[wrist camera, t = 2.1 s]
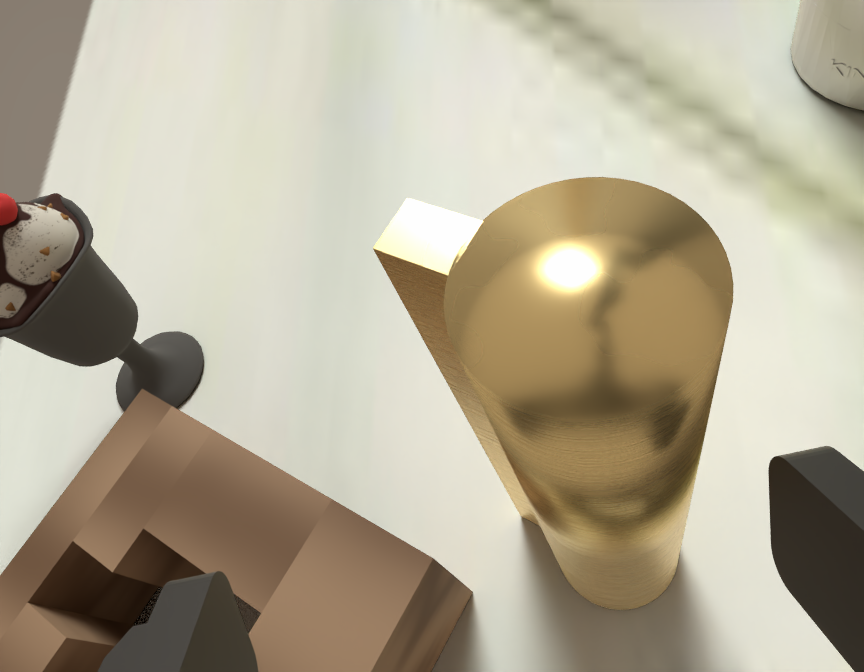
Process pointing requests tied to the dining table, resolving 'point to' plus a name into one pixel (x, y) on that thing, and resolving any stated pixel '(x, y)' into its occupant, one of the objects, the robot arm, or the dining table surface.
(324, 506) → the walnut socket block
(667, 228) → the brass peg
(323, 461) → the dining table surface
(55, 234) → the sundae
